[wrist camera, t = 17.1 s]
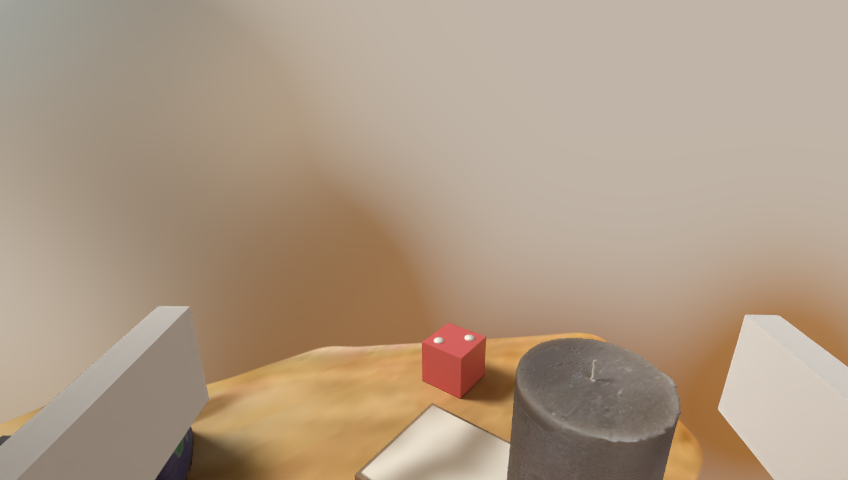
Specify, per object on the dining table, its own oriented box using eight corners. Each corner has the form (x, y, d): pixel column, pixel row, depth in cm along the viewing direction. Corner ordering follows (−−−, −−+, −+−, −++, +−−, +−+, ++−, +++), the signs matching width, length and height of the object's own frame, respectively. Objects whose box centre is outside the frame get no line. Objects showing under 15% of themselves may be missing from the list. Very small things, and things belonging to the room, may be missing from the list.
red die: (422, 380, 52) (422, 341, 50) (447, 359, 55) (448, 322, 54) (460, 398, 49) (461, 357, 47) (484, 374, 53) (486, 335, 51)
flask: (167, 432, 45) (142, 337, 41) (200, 426, 45) (179, 331, 42) (141, 516, 36) (107, 406, 33) (182, 506, 37) (154, 398, 33)
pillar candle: (488, 485, 38) (497, 326, 32) (602, 471, 39) (629, 315, 33) (529, 619, 29) (550, 430, 23) (675, 596, 30) (729, 410, 24)
